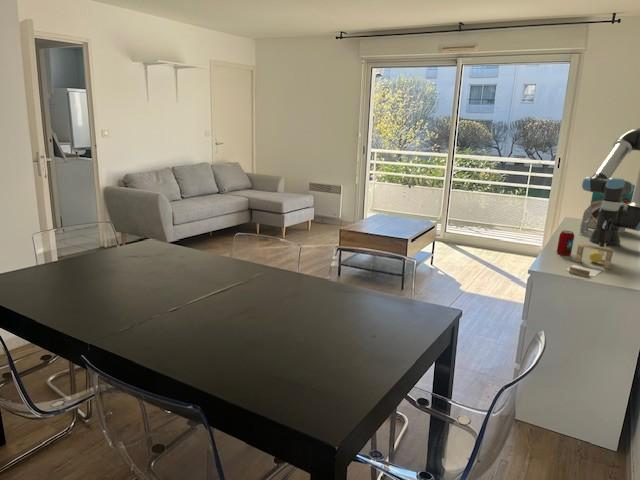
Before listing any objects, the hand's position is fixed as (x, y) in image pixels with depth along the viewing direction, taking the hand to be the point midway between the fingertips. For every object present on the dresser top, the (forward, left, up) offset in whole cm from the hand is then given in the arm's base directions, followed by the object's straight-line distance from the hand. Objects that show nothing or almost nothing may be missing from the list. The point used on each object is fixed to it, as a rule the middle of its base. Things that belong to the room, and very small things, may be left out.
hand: (600, 255), depth 245 cm
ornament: (-61, -17, -2) cm, 63 cm away
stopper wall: (+36, 0, -2) cm, 37 cm away
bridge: (+14, 0, -2) cm, 15 cm away
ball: (+9, 0, +1) cm, 9 cm away
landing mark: (+29, 0, -2) cm, 29 cm away
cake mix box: (-83, -16, -2) cm, 85 cm away
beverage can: (+6, -15, -2) cm, 17 cm away
